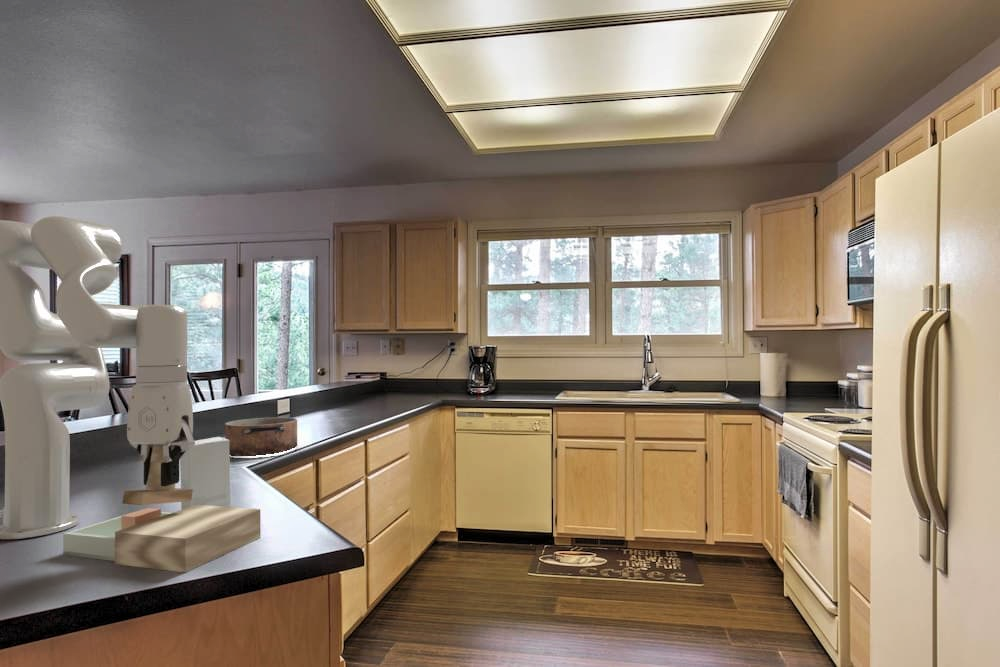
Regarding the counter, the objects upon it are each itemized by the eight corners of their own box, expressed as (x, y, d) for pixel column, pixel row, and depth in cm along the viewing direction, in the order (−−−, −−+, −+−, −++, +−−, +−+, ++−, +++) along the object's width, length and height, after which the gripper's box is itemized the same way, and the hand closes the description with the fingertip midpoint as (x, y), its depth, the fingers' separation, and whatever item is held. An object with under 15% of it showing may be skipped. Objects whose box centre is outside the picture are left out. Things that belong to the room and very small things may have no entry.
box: (63, 555, 91) (63, 533, 91) (140, 528, 105) (140, 510, 105) (118, 561, 88) (118, 539, 88) (190, 533, 101) (190, 514, 101)
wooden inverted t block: (122, 503, 90) (134, 435, 92) (173, 499, 99) (183, 437, 102) (141, 505, 89) (152, 435, 91) (191, 501, 98) (200, 438, 100)
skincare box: (220, 504, 122) (220, 436, 122) (231, 508, 117) (231, 438, 118) (178, 512, 115) (178, 441, 116) (188, 518, 111) (188, 443, 112)
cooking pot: (304, 456, 178) (303, 423, 179) (227, 464, 168) (227, 428, 168) (290, 444, 205) (290, 415, 205) (223, 450, 194) (223, 419, 194)
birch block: (114, 564, 87) (115, 531, 87) (197, 531, 102) (197, 504, 102) (185, 572, 83) (185, 538, 83) (260, 537, 98) (260, 509, 98)
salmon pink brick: (134, 547, 93) (121, 545, 93) (160, 537, 97) (147, 536, 98) (135, 517, 93) (121, 516, 94) (161, 508, 98) (147, 507, 98)
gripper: (105, 377, 94) (104, 486, 93) (181, 377, 89) (181, 492, 89) (145, 375, 101) (144, 476, 101) (217, 375, 97) (217, 481, 96)
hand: (161, 482), depth 95 cm, fingers closed on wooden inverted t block, 3 cm apart
